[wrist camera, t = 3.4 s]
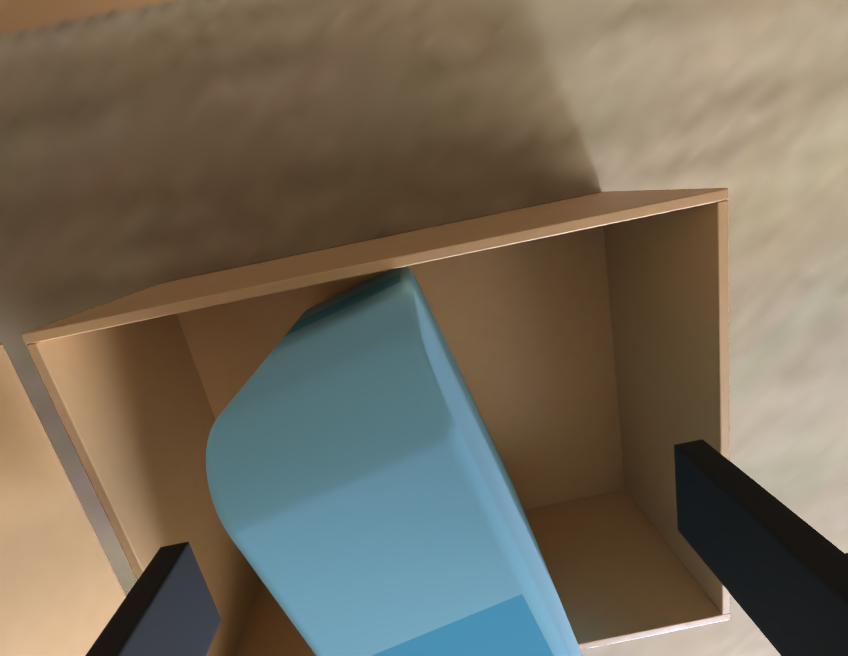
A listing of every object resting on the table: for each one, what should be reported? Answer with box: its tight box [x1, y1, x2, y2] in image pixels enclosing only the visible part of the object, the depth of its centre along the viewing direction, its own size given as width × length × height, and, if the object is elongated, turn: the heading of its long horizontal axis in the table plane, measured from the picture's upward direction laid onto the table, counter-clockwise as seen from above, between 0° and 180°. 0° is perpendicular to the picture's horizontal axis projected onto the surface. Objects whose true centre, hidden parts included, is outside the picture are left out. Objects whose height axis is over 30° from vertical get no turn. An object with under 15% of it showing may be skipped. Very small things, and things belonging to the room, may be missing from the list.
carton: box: [21, 188, 730, 656], centre depth 17 cm, size 19×15×7 cm
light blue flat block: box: [206, 266, 582, 656], centre depth 15 cm, size 12×4×12 cm, turn 25°
